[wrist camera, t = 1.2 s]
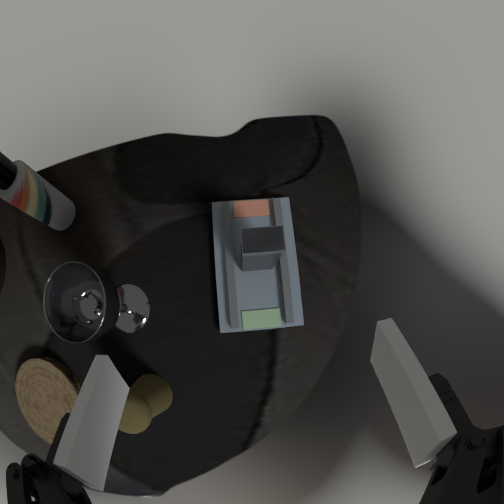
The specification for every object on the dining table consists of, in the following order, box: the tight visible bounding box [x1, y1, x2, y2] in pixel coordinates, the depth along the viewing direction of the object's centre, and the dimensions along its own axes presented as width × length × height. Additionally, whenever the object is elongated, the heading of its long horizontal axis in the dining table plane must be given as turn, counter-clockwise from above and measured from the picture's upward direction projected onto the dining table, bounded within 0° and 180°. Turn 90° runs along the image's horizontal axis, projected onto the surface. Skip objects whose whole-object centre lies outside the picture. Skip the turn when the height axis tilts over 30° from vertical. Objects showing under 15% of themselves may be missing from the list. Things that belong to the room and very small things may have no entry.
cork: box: [118, 374, 173, 434], centre depth 29 cm, size 6×6×11 cm
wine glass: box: [43, 262, 150, 343], centre depth 30 cm, size 8×8×15 cm
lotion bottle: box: [0, 152, 76, 231], centre depth 30 cm, size 6×6×20 cm
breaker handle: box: [240, 225, 286, 272], centre depth 32 cm, size 2×4×11 cm, turn 95°
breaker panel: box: [212, 197, 304, 333], centre depth 38 cm, size 18×11×3 cm, turn 5°
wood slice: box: [15, 357, 82, 444], centre depth 32 cm, size 16×16×3 cm
